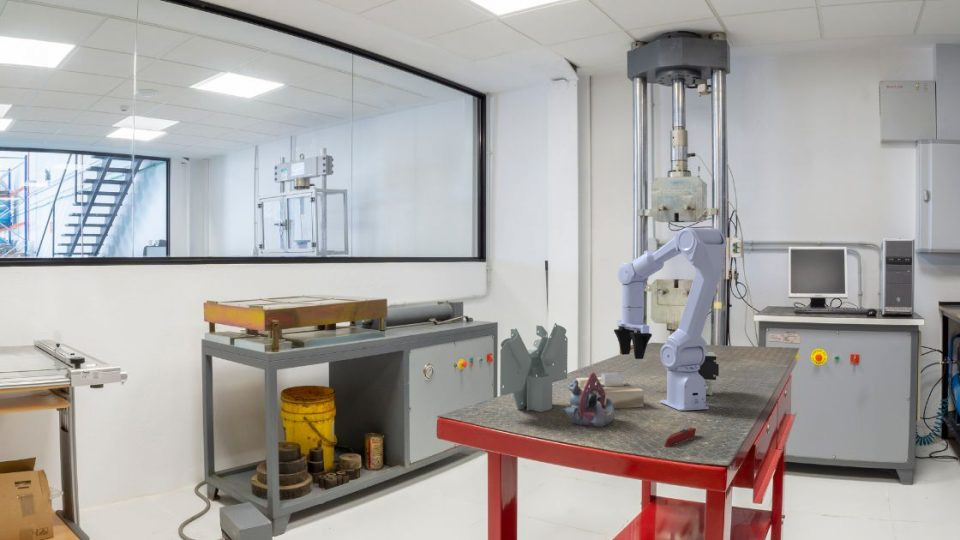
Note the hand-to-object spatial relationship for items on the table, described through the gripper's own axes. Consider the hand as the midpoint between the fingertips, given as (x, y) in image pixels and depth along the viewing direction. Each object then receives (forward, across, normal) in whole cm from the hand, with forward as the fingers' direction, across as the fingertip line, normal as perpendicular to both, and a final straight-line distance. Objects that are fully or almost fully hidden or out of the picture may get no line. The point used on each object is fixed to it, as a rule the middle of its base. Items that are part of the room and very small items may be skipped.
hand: (632, 356), depth 168 cm
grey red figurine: (+10, +27, -25) cm, 38 cm away
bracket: (+10, +12, -32) cm, 36 cm away
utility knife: (+10, +44, -13) cm, 47 cm away
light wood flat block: (+9, +8, -11) cm, 17 cm away
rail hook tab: (+9, +10, -11) cm, 18 cm away
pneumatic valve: (+10, +8, +18) cm, 22 cm away
